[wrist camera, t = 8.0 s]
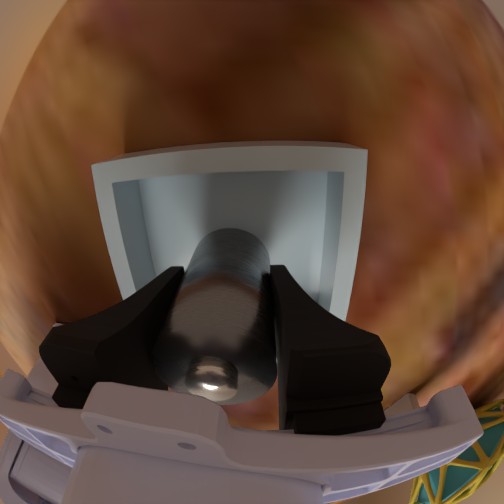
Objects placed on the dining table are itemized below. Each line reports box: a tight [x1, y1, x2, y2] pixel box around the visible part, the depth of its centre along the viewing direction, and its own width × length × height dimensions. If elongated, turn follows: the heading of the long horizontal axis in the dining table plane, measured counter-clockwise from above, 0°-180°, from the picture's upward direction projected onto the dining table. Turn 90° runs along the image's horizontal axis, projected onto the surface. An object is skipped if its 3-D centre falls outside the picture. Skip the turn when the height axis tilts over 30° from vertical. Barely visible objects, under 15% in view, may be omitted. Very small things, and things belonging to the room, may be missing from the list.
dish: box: [91, 140, 368, 358], centre depth 14 cm, size 12×12×4 cm
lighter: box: [384, 393, 420, 416], centre depth 20 cm, size 7×2×8 cm, turn 150°
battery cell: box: [152, 228, 277, 405], centre depth 11 cm, size 4×4×8 cm
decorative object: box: [409, 399, 504, 504], centre depth 24 cm, size 23×23×15 cm
